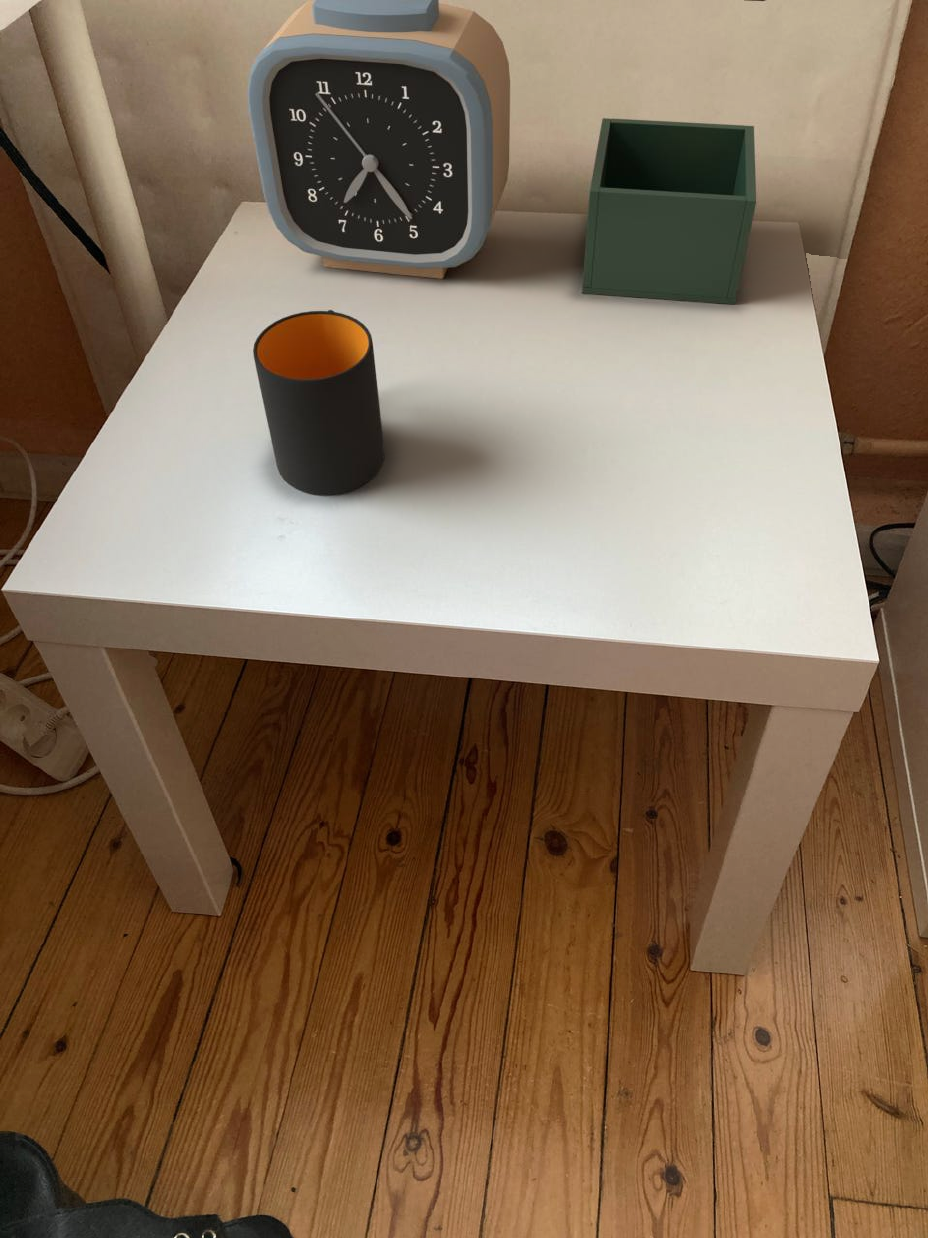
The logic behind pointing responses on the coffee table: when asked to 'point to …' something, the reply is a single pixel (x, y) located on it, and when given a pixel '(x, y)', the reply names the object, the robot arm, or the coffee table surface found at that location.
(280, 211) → the alarm clock
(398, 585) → the coffee table surface
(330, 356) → the mug
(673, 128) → the bin
